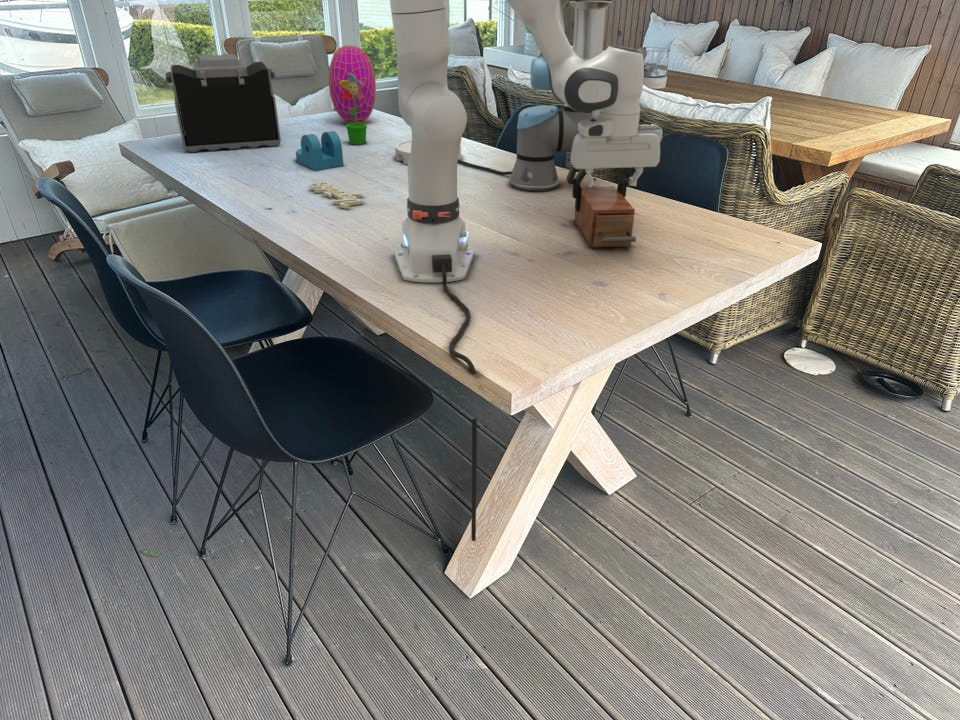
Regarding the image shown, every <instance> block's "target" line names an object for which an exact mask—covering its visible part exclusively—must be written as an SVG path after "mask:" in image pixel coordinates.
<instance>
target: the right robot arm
mask: <svg viewBox="0 0 960 720" xmlns="http://www.w3.org/2000/svg"><path fill="white" fill-rule="evenodd" d="M569 3H570V5H571V6H572V7H573V8H574V23H573V39H572V50H573V51H574V52H575V53H576V54H577V55H578V56H579V57H580V58H582V59H583V60H584V61H588V60H590V59H592V58H594V57H596V56H598V55H599V54H601V53H602V52H603V47H604V33H605V23H606V22H605V20H606V10H607V9H608V8H609V6H610V5H611V4H612V0H569ZM563 5H564V4H563V0H557V4H556V12H557V17H558V20H559V22H560V24H561V26H562V28H563V31H564V33H565V34H566V30H565V29H566V28H565V19H564V6H563ZM536 55H537V57H536V58H533V59H532V60H531V64H530V73H529V75H530V79H529V80H530V82H529V83H530V87H531V89H533V90H535V91H545V92H549V91H550V92H551V89H550V84H549V73H548V67H547V64H546V61H545V59H544V57H543V55H542V53H541V51H540V49H539V47H538V45H537V44H536ZM563 104H564V103H563ZM599 111H600V109H599V110H595V111H590V112H578V111H575V110H573V109H572V108H570V107H568V106H567V105H566V104H564V105H563V110H562V111H561V110H559V109H558V107H557V106H556V105H553V104H551V105H547V104H543V105H535V106H529V107H526V108H523V109H522V110H521V111H520V112H519V114H518V119H517V125H516V129H517V136H516V159H515V162H514V165H513V168H512V171H511V170H510V171H500V170H497V169H494V168H491V167H486V166H482V165H478V164H474V163H470V162H467V161H465V160H462V159H460V160H459V159H458V163H459V164H461V165H464V166H467V167H472V168H473V169H479V170H483V171H487V172H490V173H494V174H496V175H497V174H498V175H502V176H508V175H510V177H509V185H510V187H512V188H513V189H515V190H516V189H517V190H519V191H525V192H548V191H551V190H552V191H553V190H554V189H557V188H558V186H559V176H558V171H557V167H556V163H555V152H563V153H564V152H565V153H567V152H569V153H571V150H572V145H573V141H574V138H575V136H576V135H577V134H578V133H580V132H579V131H578V123H579V122H580V121H583V120H586V119H589V118H591V117H594V116H597V115H599ZM613 169H614V170H615V173H616V175H617V177H618V179H619V181H620V183H619V182H618V183H617V187H616V189H617V190H618V191H619V192H620V193H621V194H622V195H623V197H624V198H626V196H627V190H628V189H627V188H628V187H629V185H628V182H629V177H632V176H633V175H634V173H635V172H634V167H628V168H625V171H626V176H625V174H624V172H623V170H622V169H623V168H613ZM577 172H578V173H577ZM586 176H587V174H586V172H585V169H579V170H578V169H575V168H574V167H573V166H572V164H571V165H570V168H569V170H568V173H567V176H566V179H565V181H566V182H567V184H568V185H571V186H572V191H571V192H572V193H571V196H572V199H574V200H575V201H574V211H575V210H576V211H577V212H580V201H581V190H582V187H583V186H582V185H581V183H582V182H583V180H584V179H585V177H586Z"/></svg>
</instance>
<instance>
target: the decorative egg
mask: <svg viewBox="0 0 960 720" xmlns="http://www.w3.org/2000/svg"><path fill="white" fill-rule="evenodd" d="M348 73H350V74H352V75H354V76H355V78H356V83H357V82H358V81H361V82H362V84H363V89H361V90H360V91H361V92H362V93H363V98H362V100H359V99H358V98H357V97H356V95H355V103H356V106H359V109H358V110H356V116H357V123H364V122H365V121H366V120H368V118H369V117H370V116H371V114H372V112H373V111H374V106H375V103H376V102H375V101H376V96H377V95H376V94H377V83H376V82H377V81H376V75H375V71H374V68H373V63H372V62H371V60H370V57H369V56H368V54H367V53H366V51H365V50H363V48H361V47H359V46H357V45H353V44H352V45H351V44H348V45H343V46H340V47H338V48H337V49H336V51H334V53H333V56H332V57H331V61H330V63H329V69H328V90H329V96H330V99H331V103H332V105H333V108H334V110H335V111H336V113H337V114H338V116H339V118H341V119H342V120H343V121H344V122H346V123H348V124H349V123H355V115H351V114H349V112H348V111H349V110H354V100H353V95H352V96H351V97H350V98H348V99H341V97H342V94H343V93H344V91H345V90H347V89H346V88H343V87H342V86H341V85H340V84H339V83H340V82H341V81H342V80H346V81H349V78H348Z"/></svg>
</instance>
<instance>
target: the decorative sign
mask: <svg viewBox="0 0 960 720" xmlns="http://www.w3.org/2000/svg"><path fill="white" fill-rule="evenodd" d="M310 191H313V192H314V193H316V194H321V193H323V197H328V198H329V199H332V198H335V199H333V200H332V203H333V205H339V208H341V209H346V210H347V209H348V210H349V209H350V207H351V206H358V205H361V204H363V202H362V199H361V198H362V197H363V195H362V194H363V193H362V192H348V191H344V190H343V189H342V188H339V187H337V186H336V185H333V184H332V183H330V182H327V181H326V180H320V181H318V182H316V181H315V182H312V185H311V186H310Z"/></svg>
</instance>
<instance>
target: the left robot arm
mask: <svg viewBox="0 0 960 720" xmlns="http://www.w3.org/2000/svg"><path fill="white" fill-rule="evenodd" d="M506 2H507V4H508V5H509V7H510V8H511V9H512V10H513V12H514V14H516V16H517V17H518V18H519V19H520V20H521V22H522V23H523V24H524V25H525V26H526V27H527V29H528V31H529V32H530V34H531V35H532V37H533V39H534V41H535V43H536V46H537V45H538V47H539V49H540V51H541V53H542V55H543V57H544V59H545V61H546V64H547V67H548V73H549V84H550V89H551V91H550V92H551V94H552V96H553V97H554V98H555V99H556V100H557V101H558V102H559V103H561V104H566V105H567V106H568V107H570V108H572V109H573V110H575V111H578V112H590V111H595V110H599V109H600V111H599V115H597V116H594V117H591V118H589V119H586V120H583V121H580V122H579V123H578V131H579V132H580V133H578V134H577V135H576V136H575V138H574V141H573V145H572V150H571V152H570V159H569V161H570V164H571V165H572V166H573V167H574V168H575V169H577V170H581V169H585V172H586V176H587V178H588V187H590V188H592V187H597V186H598V185H597V184H598V180H597V178H595V177H593V175H592V174H593V173H594V170H595V169H614V168H621V169H624V168H625V169H626V168H628V167H633V168H634V170H635V171H634V172H633V173H634V175H633V176H632V177H629V182H628V187H637V183H638V179H639V178H640V176H641V175H642V174H643V173H644V168H656V167H657V166H658V165H659V163H660V162H661V159H660V158H661V142H662V140H663V133H664V132H663V128H662V127H661V126H659V125H658V124H656V123H650V124H646V123H644V124H643V123H642V124H641V123H640V116H641V115H640V114H641V106H640V100H641V96H642V94H643V87H644V76H645V61H644V55H643V54H642V51H639V50H638V49H636V48H633V47H630V46H626V45H619V44H612V45H609V46H607V48H606V49H605V50H603V51H602V53H601V54H599V55H598V56H596V57H594V58H592V59H590V60H588V61H584V60H583V59H582V58H580V57H579V56H578V55H577V54H576V53H575V52H574V51H573V47H572V45H571V44H570V41H569V39H568V37H567V35H566V32H565V33H564V31H563V28H562V26H561V24H560V22H559V20H558V17H557V12H556V4H557V0H506ZM389 7H390V12H391V13H390V14H391V20H392V21H391V22H392V27H393V34H394V42H395V49H396V61H397V69H396V70H397V94H398V95H397V97H398V98H397V99H398V100H397V103H398V110H399V113H400V116H401V118H402V120H403V121H404V123H405V124H406V125H407V126H408V127H410V130H411V140H412V144H411V153H410V159H409V162H408V164H407V184H408V186H407V187H408V198H407V199H406V211H407V213H406V214H407V217H406V218H405V219H404V220H403V221H402V223H401V231H402V242H401V244H400V247H401V249H400V250H397V251H395V252H394V259H395V262H396V264H397V267H398V269H399V272H400V274H401V277H402V279H403V280H405V281H408V282H414V283H431V284H433V283H435V284H437V283H442V288H443V291H444V293H445V295H447V296H448V297H449V298H450V299H452V300H453V301H454V302H455V303H456V304H457V305H458V306H459V307H460V308H461V309H462V310H463V311H464V313H465V319H464V321H463V323H462V324H461V327H460V328H459V330H458V331H457V333H456V334H455V335H454V337H453V338H452V339H451V341H450V342H449V345H448V349H449V353H450V354H451V355H452V356H453V357H455V358H457V359H460V360H462V361H463V362H464V363H466V365H467V366H468V368H469V371H470V374H471V375H473V376H475V375H476V374H477V371H476V368H475V365H474V364H473V362H472V360H471V359H470V358H469V357H468V356H466V355H464V354H463V353H460V352H458V351H456V349H455V344H456V343H457V342H458V340H459V339H460V338H461V337H462V335H463V334H464V332H465V329H466V328H467V326H468V325H469V323H470V321H471V312H470V308H468V306H467V305H466V304H464V302H463V301H461V300H460V299H459V298H458V297H457V296H456V295H455V294H453V293H452V292H450V290H449V288H448V283H451V282H457V281H461V280H464V279H466V277H467V274H468V273H469V269H470V267H471V265H472V262H473V260H474V257H475V251H473V250H471V249H468V245H469V243H468V242H467V239H468V236H469V231H466V221H465V220H464V219H463V218H461V216H460V208H461V207H460V206H461V205H460V198H459V197H458V163H459V162H458V155H459V150H460V145H461V144H462V137H463V134H464V133H465V130H466V127H467V123H468V114H467V111H466V109H465V105H464V104H463V102H462V101H461V99H460V97H459V96H458V95H457V94H456V93H455V92H454V91H452V90H450V89H449V86H448V67H449V66H448V64H449V56H450V53H451V42H450V31H449V22H448V12H447V3H446V0H389ZM477 428H478V422H477V418H472V419H471V527H470V528H471V533H470V534H471V535H470V537H471V540H470V541H472V542H475V541H477V476H478V475H477V473H478V472H477V469H478V467H477V466H478V462H477V461H478V433H477V432H478V429H477Z"/></svg>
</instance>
